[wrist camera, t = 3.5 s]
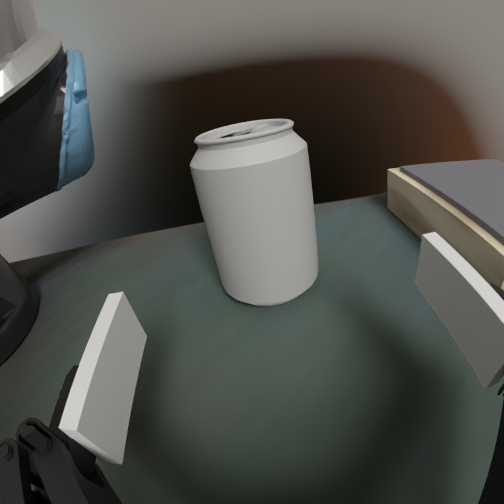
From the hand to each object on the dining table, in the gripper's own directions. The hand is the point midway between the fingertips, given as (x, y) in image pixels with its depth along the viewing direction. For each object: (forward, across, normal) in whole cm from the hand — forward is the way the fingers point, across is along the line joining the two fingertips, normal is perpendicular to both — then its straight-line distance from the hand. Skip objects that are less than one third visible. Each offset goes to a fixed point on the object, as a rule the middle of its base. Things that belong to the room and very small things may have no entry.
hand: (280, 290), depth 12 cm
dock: (+9, +23, -6) cm, 26 cm away
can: (+9, 0, -7) cm, 11 cm away
